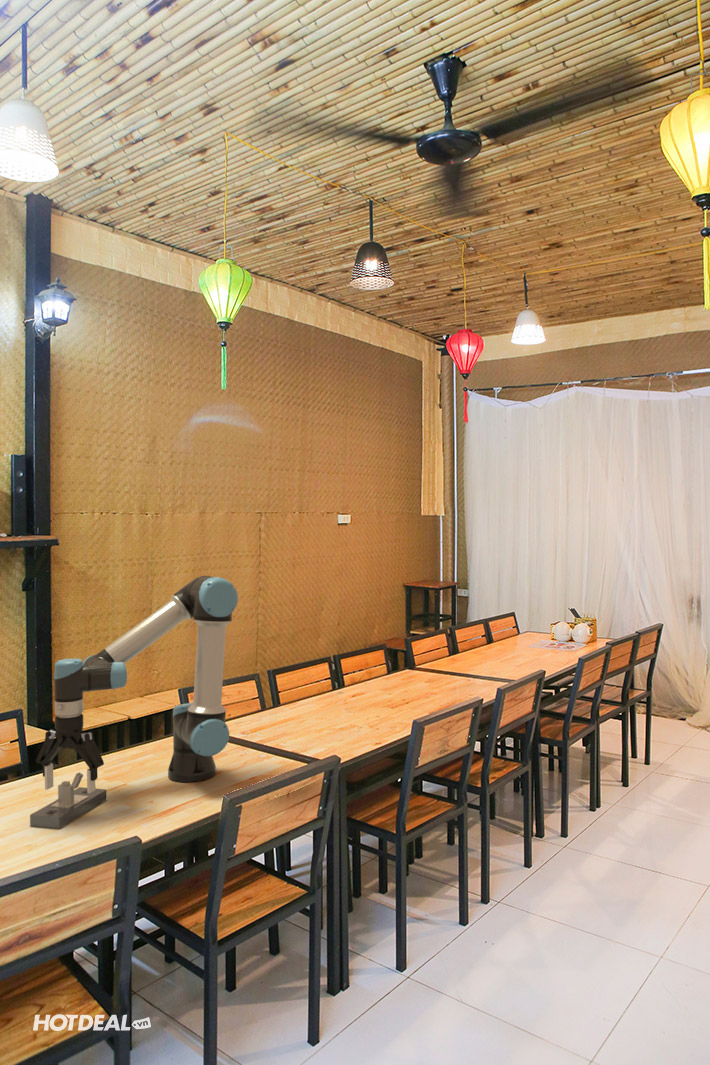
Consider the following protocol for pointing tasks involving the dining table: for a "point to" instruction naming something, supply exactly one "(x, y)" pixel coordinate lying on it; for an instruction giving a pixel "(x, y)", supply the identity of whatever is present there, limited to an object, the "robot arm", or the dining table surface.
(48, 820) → the dark grey rectangular base
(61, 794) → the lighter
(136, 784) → the dining table surface
